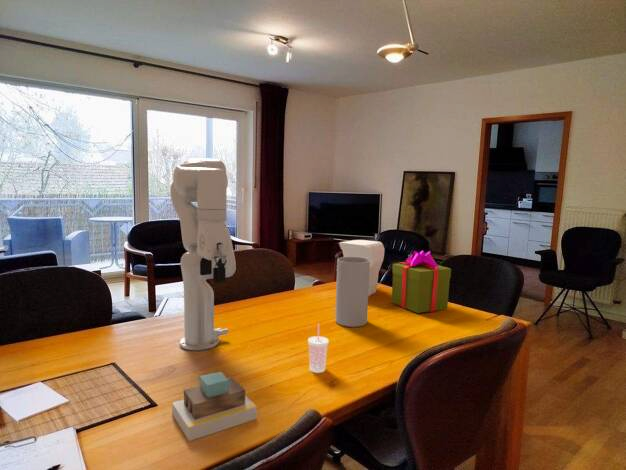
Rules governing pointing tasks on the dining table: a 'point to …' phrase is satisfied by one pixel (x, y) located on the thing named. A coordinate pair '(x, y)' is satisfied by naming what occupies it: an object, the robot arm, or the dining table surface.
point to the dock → (212, 419)
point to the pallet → (213, 400)
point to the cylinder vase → (352, 291)
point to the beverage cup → (317, 352)
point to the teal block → (214, 384)
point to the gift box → (420, 284)
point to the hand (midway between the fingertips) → (212, 278)
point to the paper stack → (368, 251)
